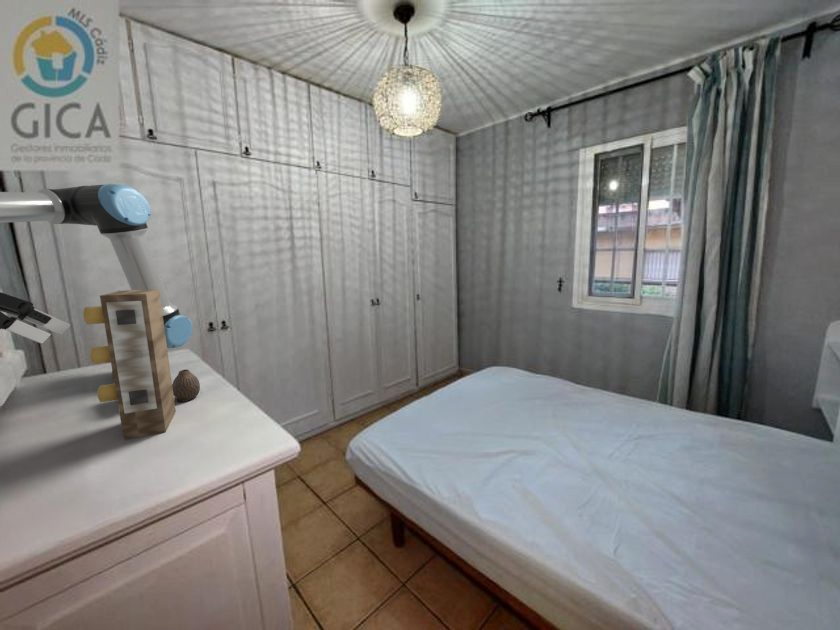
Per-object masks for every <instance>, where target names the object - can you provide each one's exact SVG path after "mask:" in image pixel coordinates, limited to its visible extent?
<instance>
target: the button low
mask: <svg viewBox="0 0 840 630" xmlns="http://www.w3.org/2000/svg"><path fill="white" fill-rule="evenodd" d="M97 398H98V401H99V402H100V403H106V402H113V401H117V395H116V389H115V383H109V384H101V385H99V387H98V388H97Z"/></svg>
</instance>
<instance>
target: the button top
mask: <svg viewBox="0 0 840 630" xmlns="http://www.w3.org/2000/svg"><path fill="white" fill-rule="evenodd" d="M82 312H83V314H82V316H83V320H84V322H85V323H86V324H87V325H97V324H98V325H99V324H104V318H103V312H102V306H101V305H99V306H86V307H84V309H83V311H82Z"/></svg>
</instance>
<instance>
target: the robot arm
mask: <svg viewBox="0 0 840 630" xmlns="http://www.w3.org/2000/svg"><path fill="white" fill-rule="evenodd" d="M151 213H152V211H151V207H150V203H149V202H148V200H147V199H146V197H145V196H144V195H143V194H142V193H141V192H140V191H137V190H136V189H135V188H133V187H131V186H129V185H126V184H125V185H124V184H115V183H108V184H94V185H93V184H92V185H80V186H72V187H64V188H52V189H51V188H42V189H39V190H37V191H36V192H27V191H25V192H22V191H20V192H18V191H15V192H14V191H13V192H12V191H0V224H1V223H3V224H4V223H25V222H48V223H49V224H52V225H61V224H62V225H64V224H65V225H67V224H68V225H84V226H85V225H86V226H94V227H95V226H97V228H98V231H99V233H100V235H101V236H103V237H106V238H107V239H109V241H110V243H111V246H112V248H113V250H114V253H115V254H116V257H117V260H118V262H119V265H120V267H121V269H122V271H123V273H124V276H125V278H126V280H127V283H128V286H129V287H130V290H155V289H159V292H160V299H161V307H162V314H163V321H164V329H165V336H166V344H167V350H168V349H177V348H178V349H179V348H181V347H183V346H184V345H185V344H187V343H188V341H189V340H190V338H191V336H192V333H193V329H194V328H193V327H194V326H193V323H192V320H191V319H190V318H189V317H187V316H185V315H184V314H183V315H182V314H181V313H180V310H179V307H178V306H177V305H175V304H173V303H171V301H170V297H169V296H168V292H167V291H166V288H165V285H164V283H163V280H162V278H161V277H162V276H161V275H160V272H159V269H158V267H157V265H156V261H155V258H154V256H153V254H152V251H151V248H150V246H149V244H148V240H147V239H146V233H147V232H148V229H149V226H148V223H147V222H148V221H149V220H150V219H151V218H150V216H151ZM5 313H6V314H5ZM7 314H10V315H13V316H10V317H9V316H8V315H7ZM16 316H17V317H16ZM24 321H27V322H29V323H32V324H34V325H36V326H38V327H41V328H42V329H45V330H48V331H49V332H53V333H55V334H57V335H60V336H62V335H63V334H64V333H65V332H66V331H67V330H68V329H69V327H70V326H71V324H70V323H68V322H65V321H63V320H61V319H59V318H57V317H55V316H53V315H50V314H49V313H45V312H44V311H41V310H39V309H37V308H35V306H34V303H33V302H31V301H28V300H24V299H22V298H19V297H15V296H13V295H10V294H7V293H3V292H1V291H0V330H4V331H5V330H6V331H8V332H11V333H14V334H16V335H18V336H21V337H23V338H26V339H28V340H31V341H34V342H35V343H38V344H41V345H42V344H44V343H45V341H46V340H47V339H48V338H49V337H50V336H51V335H52V333H49V332H47V331H44V330H42V329H40V328H38V327H35V326H33V325H31V324H28V323H26V322H24ZM111 377H112V379H113V380H114V377H113V371H112V370H111Z"/></svg>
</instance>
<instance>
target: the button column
mask: <svg viewBox="0 0 840 630" xmlns="http://www.w3.org/2000/svg"><path fill="white" fill-rule="evenodd" d="M99 298H100V299H99V300H100V306H102V312H103V318H104V323H103V324H104V328H105V336H106V340H107V341H106V342H107V346H108V348H109V354H110V360H111V362H110V364H111V372H112V371H113V377H114V379H113V384H115V389H116V395H117V400H116V401H117V406H118V412H119V418H120V424H121V430H122V437H123V440H124V441H125V440H129V439H135V438H140V437H145V436H150V435H157V434H162V433H166V432H167V430H168V428H169V426H170V424H171V422H172V420H173V419H174V416H175V415H176V412H177V411H176V402H175V396H174V395H173V388H172V384H173V381H172V373H171V365H170V359H169V353H168V349H167V344H166V336H165V329H164V321H163V314H162V307H161V299H160V292H159V289H155V290H131V289H130V290H129V289H128V290H127V289H126V290H117V291H113V292H109V293H105V294H102V295H99ZM113 377H112V378H113Z"/></svg>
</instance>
